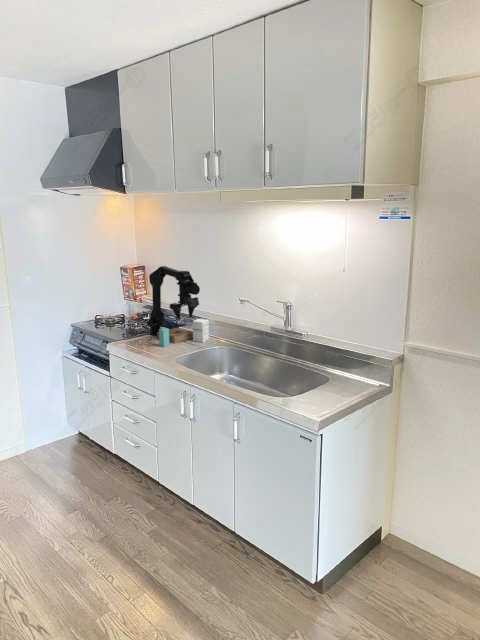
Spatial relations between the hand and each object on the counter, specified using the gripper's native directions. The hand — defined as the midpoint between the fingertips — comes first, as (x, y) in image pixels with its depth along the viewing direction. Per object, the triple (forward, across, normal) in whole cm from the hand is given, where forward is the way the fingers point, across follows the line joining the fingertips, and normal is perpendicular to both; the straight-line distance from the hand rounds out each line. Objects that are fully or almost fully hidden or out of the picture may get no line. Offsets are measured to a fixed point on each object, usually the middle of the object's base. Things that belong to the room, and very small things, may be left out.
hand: (184, 318), depth 283 cm
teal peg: (+15, -13, +4) cm, 20 cm away
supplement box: (+15, +9, -4) cm, 18 cm away
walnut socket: (+15, +2, +11) cm, 19 cm away
